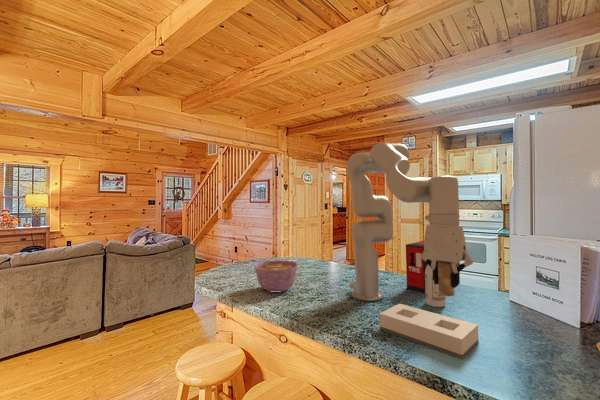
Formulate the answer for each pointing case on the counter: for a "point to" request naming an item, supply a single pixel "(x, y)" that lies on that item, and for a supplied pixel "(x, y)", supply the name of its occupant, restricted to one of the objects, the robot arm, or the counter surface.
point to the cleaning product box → (415, 267)
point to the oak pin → (445, 278)
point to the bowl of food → (276, 274)
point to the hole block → (431, 329)
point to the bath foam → (432, 290)
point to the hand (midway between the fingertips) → (446, 284)
